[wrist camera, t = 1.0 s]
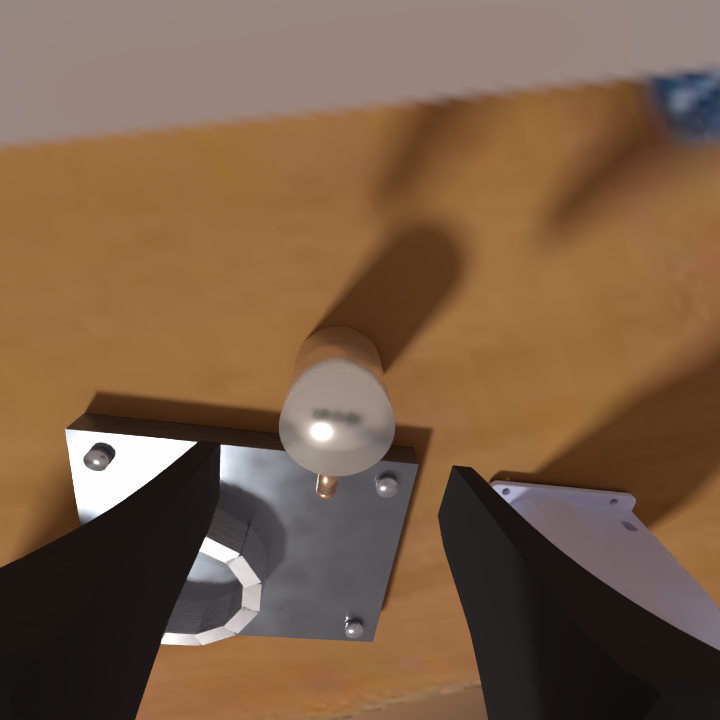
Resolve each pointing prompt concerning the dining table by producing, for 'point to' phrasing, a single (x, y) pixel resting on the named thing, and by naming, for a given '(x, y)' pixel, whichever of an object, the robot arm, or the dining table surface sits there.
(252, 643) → the dining table surface
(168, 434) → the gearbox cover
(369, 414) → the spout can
